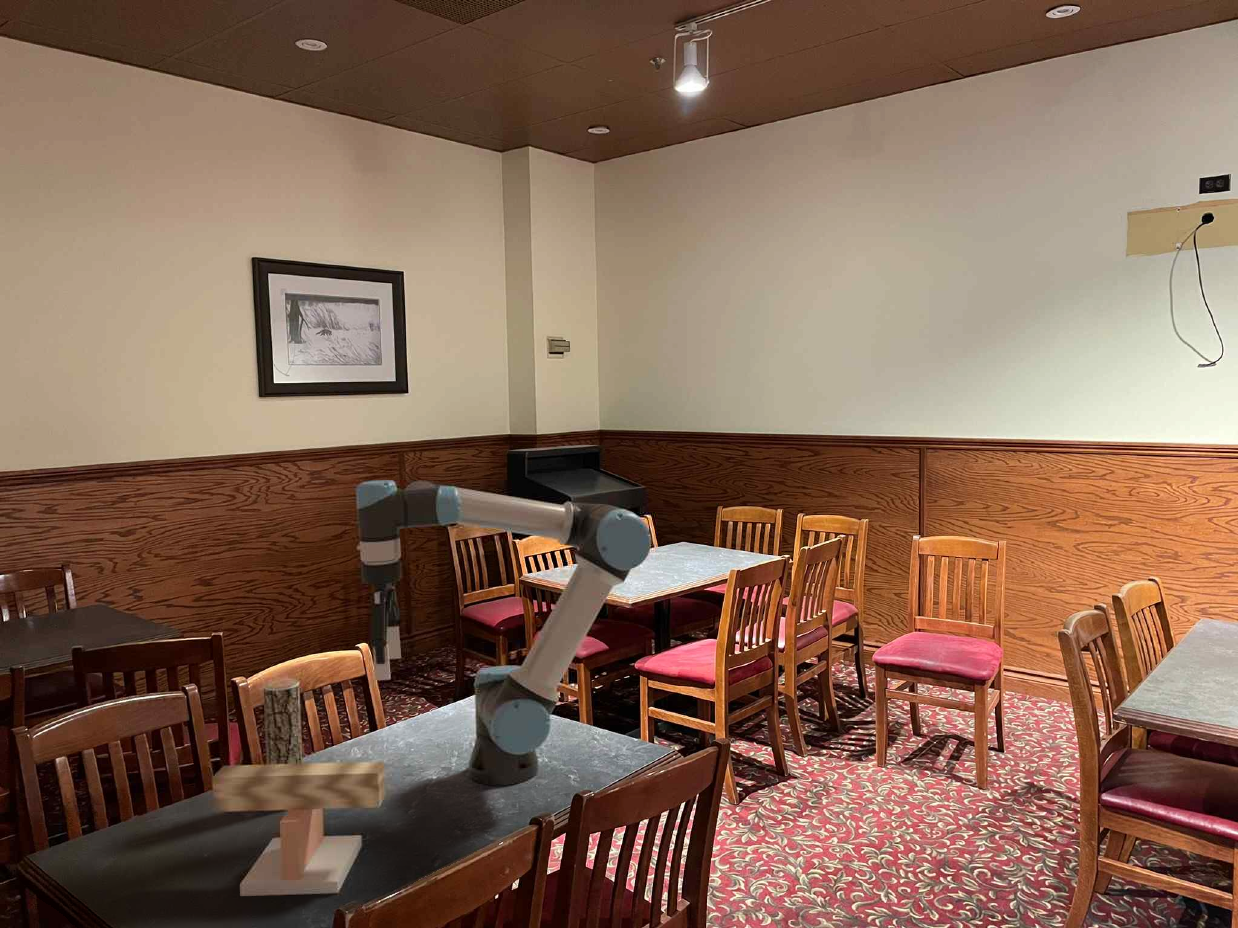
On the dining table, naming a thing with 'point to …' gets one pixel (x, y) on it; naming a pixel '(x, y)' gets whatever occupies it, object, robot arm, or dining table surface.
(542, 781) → the dining table surface
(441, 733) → the dining table surface
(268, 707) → the bark-covered stump
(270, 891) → the balance stand
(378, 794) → the birch beam
